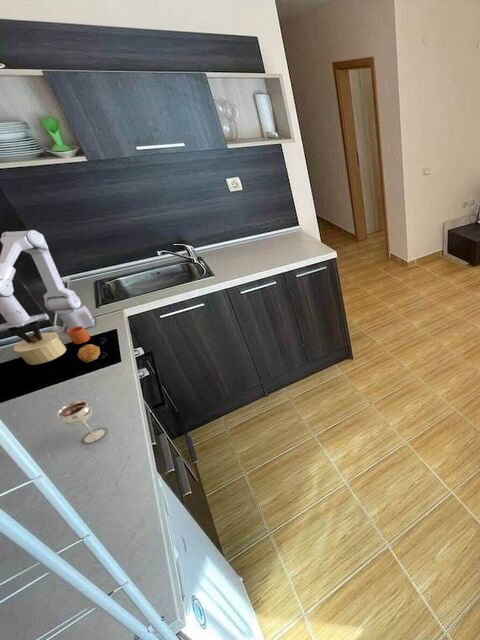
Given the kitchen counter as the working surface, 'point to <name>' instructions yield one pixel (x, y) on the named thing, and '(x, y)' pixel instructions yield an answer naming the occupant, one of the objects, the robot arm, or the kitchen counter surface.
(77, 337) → the cup
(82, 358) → the pastry
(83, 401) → the wineglass
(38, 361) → the pot
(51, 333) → the pot lid
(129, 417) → the kitchen counter surface
